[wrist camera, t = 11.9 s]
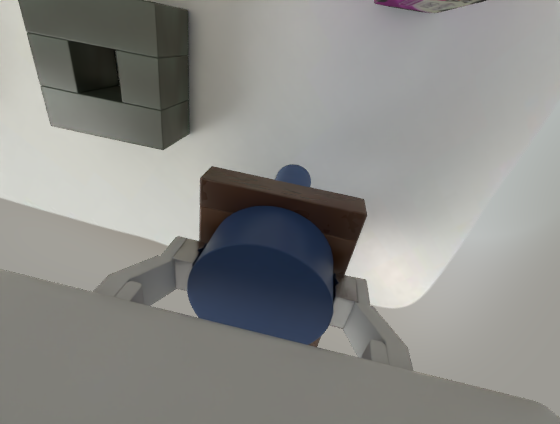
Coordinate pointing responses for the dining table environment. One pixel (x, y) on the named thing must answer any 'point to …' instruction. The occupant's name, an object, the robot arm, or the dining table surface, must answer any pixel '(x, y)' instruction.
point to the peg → (267, 272)
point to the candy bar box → (427, 4)
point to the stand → (300, 199)
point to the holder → (112, 67)
